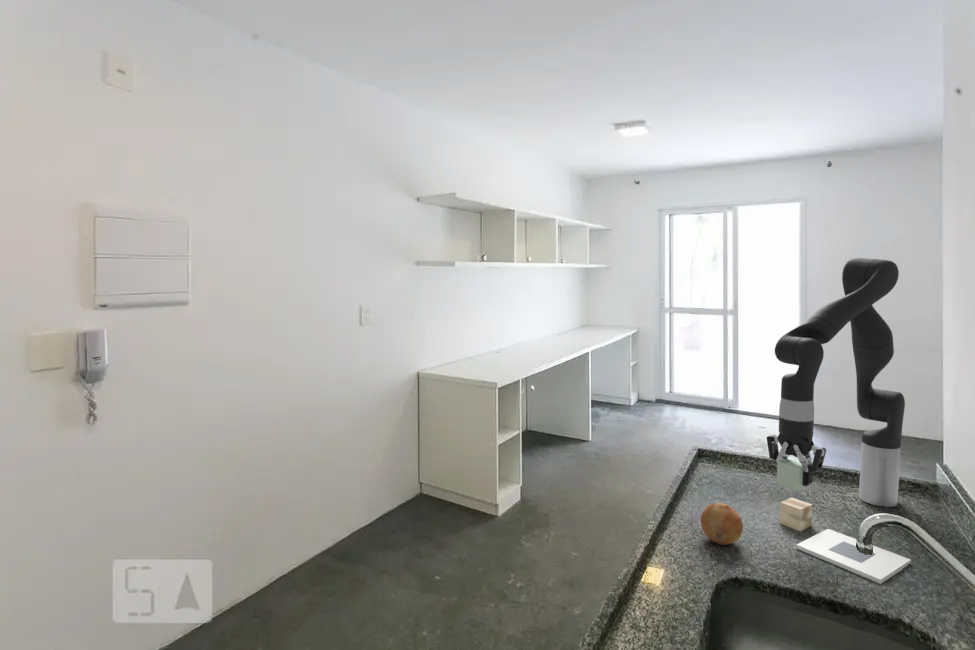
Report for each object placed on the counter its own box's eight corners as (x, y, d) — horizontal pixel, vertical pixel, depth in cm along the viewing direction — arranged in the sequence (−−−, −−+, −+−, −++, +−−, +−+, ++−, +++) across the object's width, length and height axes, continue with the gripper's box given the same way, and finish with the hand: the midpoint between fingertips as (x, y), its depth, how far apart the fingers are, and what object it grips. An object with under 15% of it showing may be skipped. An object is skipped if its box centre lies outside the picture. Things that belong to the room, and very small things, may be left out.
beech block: (790, 518, 147) (791, 497, 146) (811, 526, 142) (812, 504, 141) (779, 523, 144) (780, 502, 143) (800, 531, 139) (801, 509, 139)
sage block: (789, 479, 138) (790, 457, 137) (810, 486, 133) (811, 463, 133) (776, 484, 135) (777, 461, 135) (798, 491, 130) (799, 467, 130)
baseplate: (827, 532, 138) (828, 528, 138) (910, 563, 123) (910, 559, 123) (796, 548, 130) (796, 544, 130) (880, 583, 115) (880, 579, 115)
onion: (739, 535, 137) (740, 498, 136) (744, 554, 128) (745, 514, 127) (699, 530, 140) (700, 493, 140) (701, 548, 131) (702, 509, 130)
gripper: (834, 420, 128) (832, 487, 130) (777, 407, 140) (775, 469, 142) (817, 425, 124) (815, 494, 126) (760, 412, 137) (758, 475, 138)
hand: (793, 481), depth 134 cm, fingers closed on sage block, 5 cm apart
